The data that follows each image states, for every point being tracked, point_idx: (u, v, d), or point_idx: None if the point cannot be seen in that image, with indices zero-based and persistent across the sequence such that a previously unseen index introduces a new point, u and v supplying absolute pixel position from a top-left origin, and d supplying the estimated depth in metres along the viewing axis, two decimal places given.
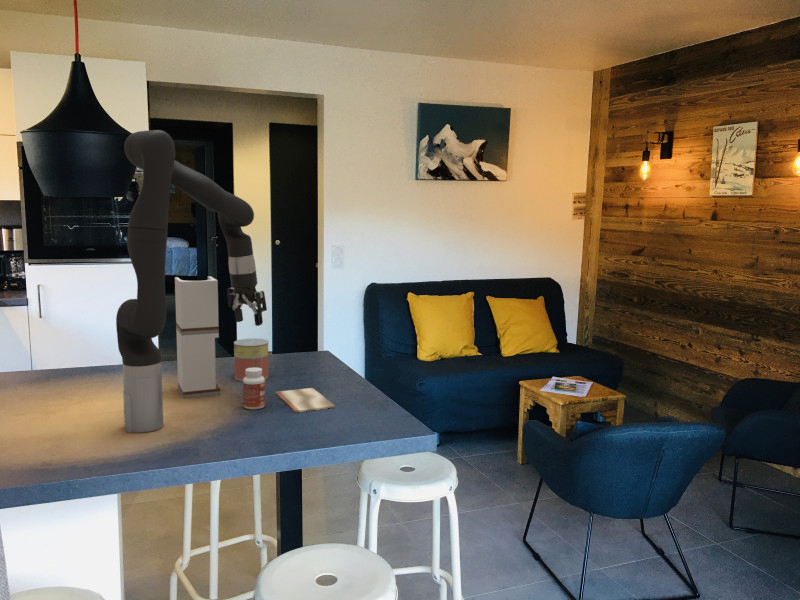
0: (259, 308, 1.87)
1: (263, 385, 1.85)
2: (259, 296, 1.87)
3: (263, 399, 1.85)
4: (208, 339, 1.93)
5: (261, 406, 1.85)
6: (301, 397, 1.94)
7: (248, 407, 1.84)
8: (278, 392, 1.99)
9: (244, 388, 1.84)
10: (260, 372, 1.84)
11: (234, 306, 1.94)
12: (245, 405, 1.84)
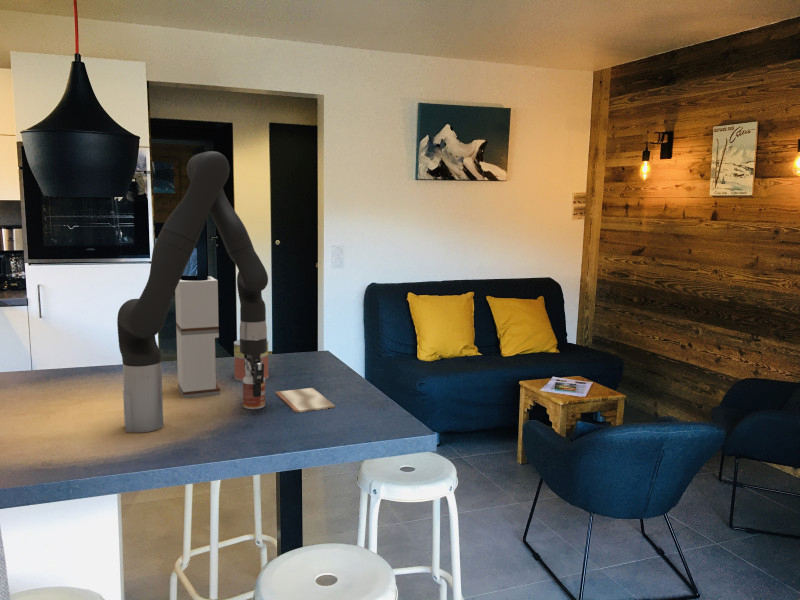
0: (254, 379, 1.79)
1: (263, 385, 1.85)
2: (256, 368, 1.78)
3: (263, 399, 1.85)
4: (208, 339, 1.93)
5: (261, 406, 1.85)
6: (301, 397, 1.94)
7: (248, 407, 1.84)
8: (278, 392, 1.99)
9: (244, 388, 1.84)
10: None
11: None
12: (245, 405, 1.84)
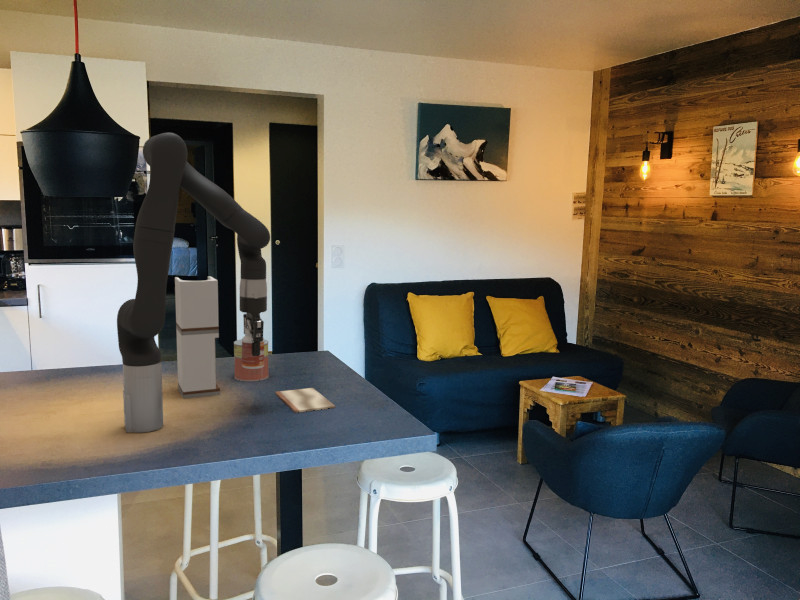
0: (254, 337, 1.78)
1: (262, 345, 1.83)
2: (256, 325, 1.77)
3: (262, 359, 1.83)
4: (208, 339, 1.93)
5: (260, 366, 1.83)
6: (301, 397, 1.94)
7: (247, 366, 1.82)
8: (278, 392, 1.99)
9: (243, 347, 1.82)
10: None
11: None
12: (244, 364, 1.82)
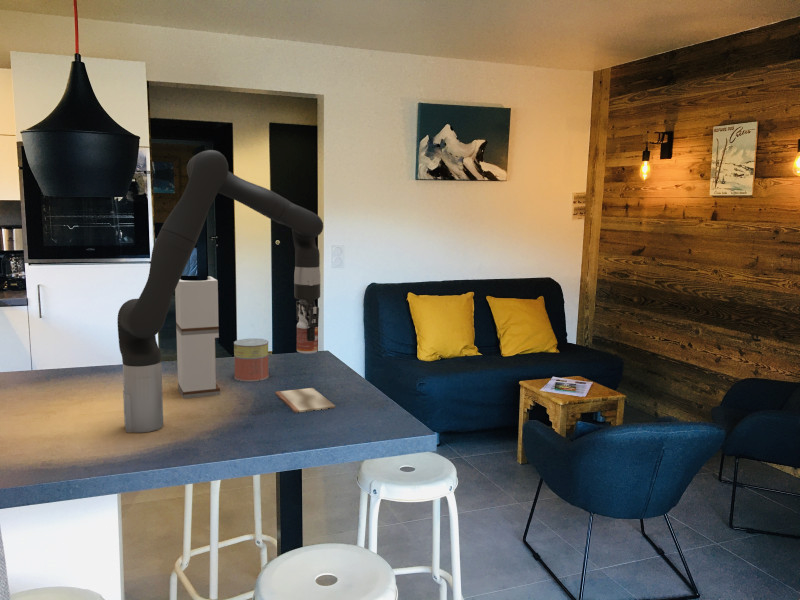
0: (309, 323, 1.84)
1: (316, 330, 1.90)
2: (312, 311, 1.83)
3: (316, 344, 1.90)
4: (208, 339, 1.93)
5: (314, 350, 1.90)
6: (301, 397, 1.94)
7: (302, 351, 1.89)
8: (278, 392, 1.99)
9: (298, 333, 1.89)
10: None
11: None
12: (299, 349, 1.89)
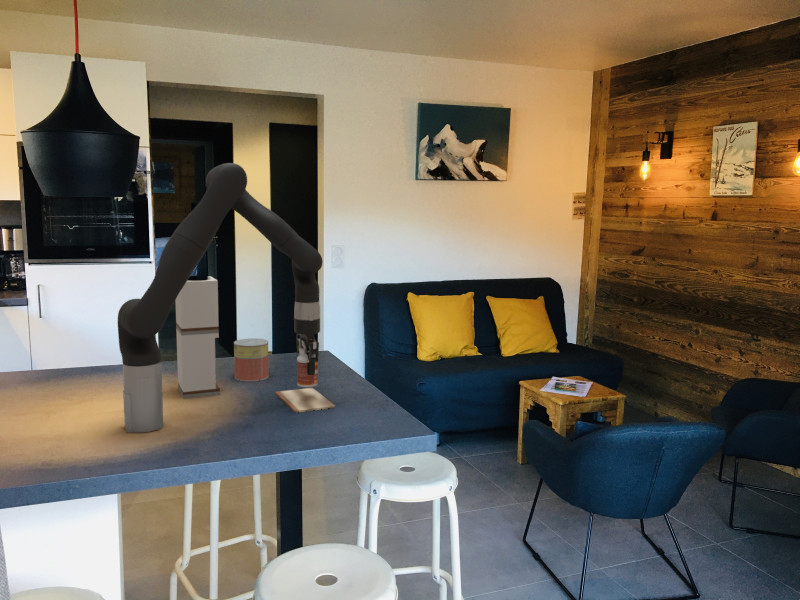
0: (309, 358, 1.86)
1: (316, 364, 1.91)
2: (312, 347, 1.85)
3: (316, 377, 1.92)
4: (208, 339, 1.93)
5: (314, 384, 1.91)
6: (301, 397, 1.94)
7: (302, 385, 1.90)
8: (278, 392, 1.99)
9: (298, 367, 1.90)
10: None
11: (299, 353, 1.94)
12: (299, 383, 1.91)
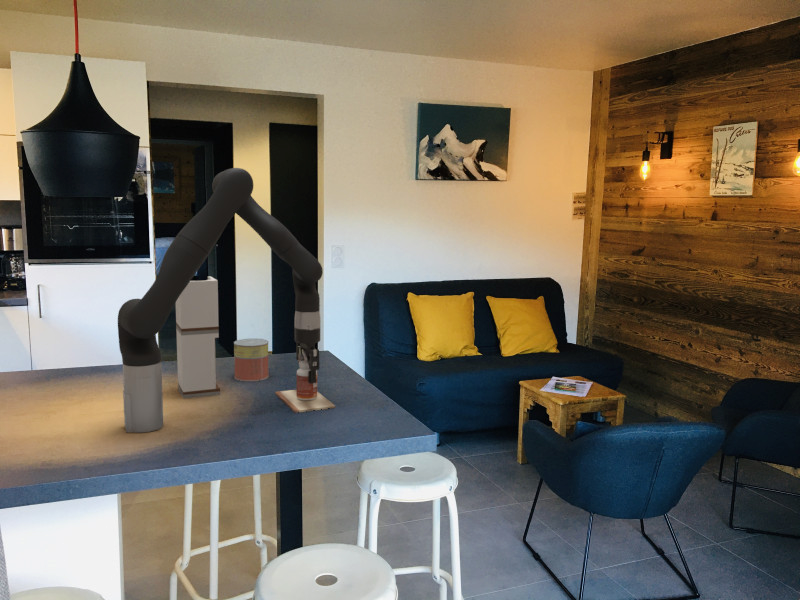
0: (311, 366, 1.85)
1: (316, 377, 1.92)
2: (312, 354, 1.85)
3: (316, 391, 1.92)
4: (208, 339, 1.93)
5: (314, 397, 1.92)
6: None
7: (302, 398, 1.91)
8: (278, 392, 1.99)
9: (298, 380, 1.91)
10: (313, 365, 1.91)
11: (299, 359, 1.95)
12: (299, 396, 1.91)
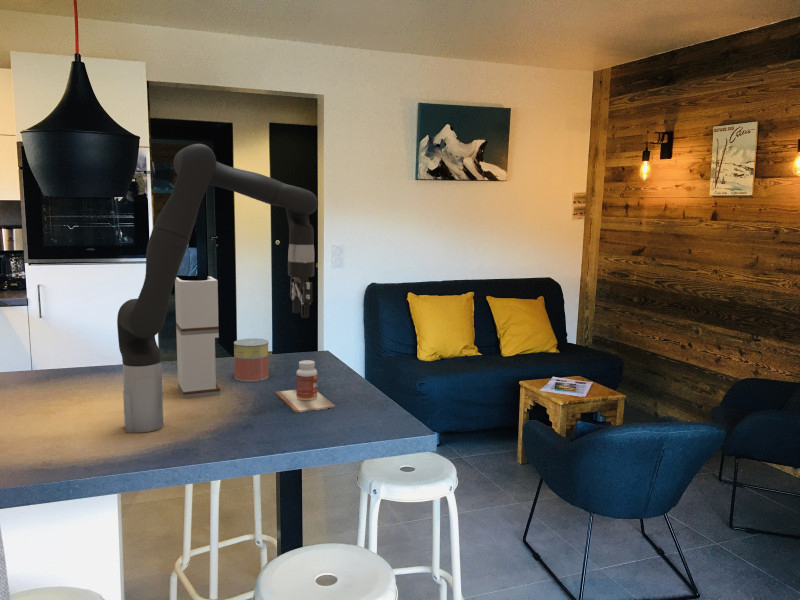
0: (304, 299, 1.83)
1: (316, 377, 1.92)
2: (305, 286, 1.83)
3: (316, 391, 1.92)
4: (208, 339, 1.93)
5: (314, 397, 1.92)
6: None
7: (302, 398, 1.91)
8: (278, 392, 1.99)
9: (298, 380, 1.91)
10: (313, 365, 1.91)
11: (292, 296, 1.93)
12: (299, 396, 1.91)
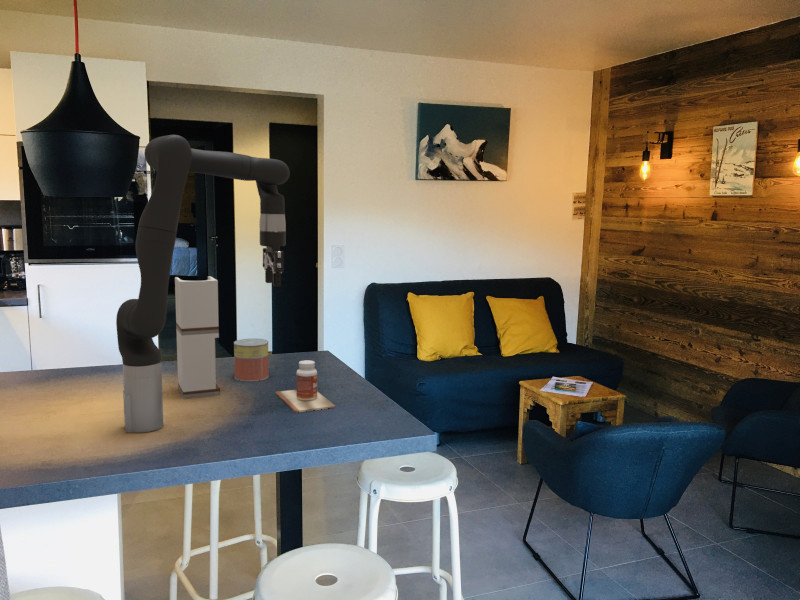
0: (275, 267, 1.85)
1: (316, 377, 1.92)
2: (276, 255, 1.84)
3: (316, 391, 1.92)
4: (208, 339, 1.93)
5: (314, 397, 1.92)
6: None
7: (302, 398, 1.91)
8: (278, 392, 1.99)
9: (298, 380, 1.91)
10: (313, 365, 1.91)
11: (265, 266, 1.95)
12: (299, 396, 1.91)
